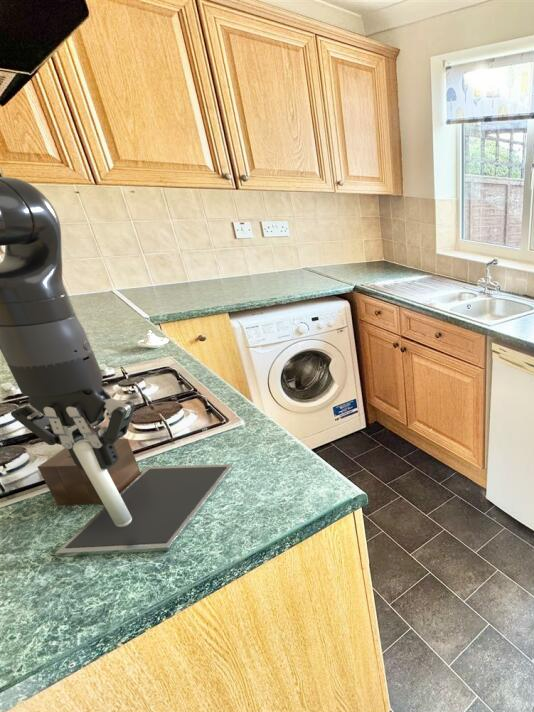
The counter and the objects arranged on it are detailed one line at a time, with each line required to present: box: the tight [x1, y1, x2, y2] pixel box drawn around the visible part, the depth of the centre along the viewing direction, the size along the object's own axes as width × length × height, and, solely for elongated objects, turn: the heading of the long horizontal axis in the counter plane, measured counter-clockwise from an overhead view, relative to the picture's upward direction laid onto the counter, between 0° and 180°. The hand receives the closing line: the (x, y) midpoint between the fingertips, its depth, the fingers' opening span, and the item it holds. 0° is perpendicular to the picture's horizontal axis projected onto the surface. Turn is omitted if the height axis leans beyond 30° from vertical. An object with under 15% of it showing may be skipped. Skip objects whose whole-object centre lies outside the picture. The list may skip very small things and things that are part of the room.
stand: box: [37, 438, 142, 507], centre depth 73 cm, size 8×8×8 cm
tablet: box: [54, 463, 235, 558], centre depth 71 cm, size 15×21×1 cm
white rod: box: [73, 440, 132, 527], centre depth 60 cm, size 2×2×16 cm
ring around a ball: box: [136, 330, 169, 349], centre depth 134 cm, size 8×6×8 cm
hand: (99, 465), depth 60 cm, fingers closed on white rod, 2 cm apart
